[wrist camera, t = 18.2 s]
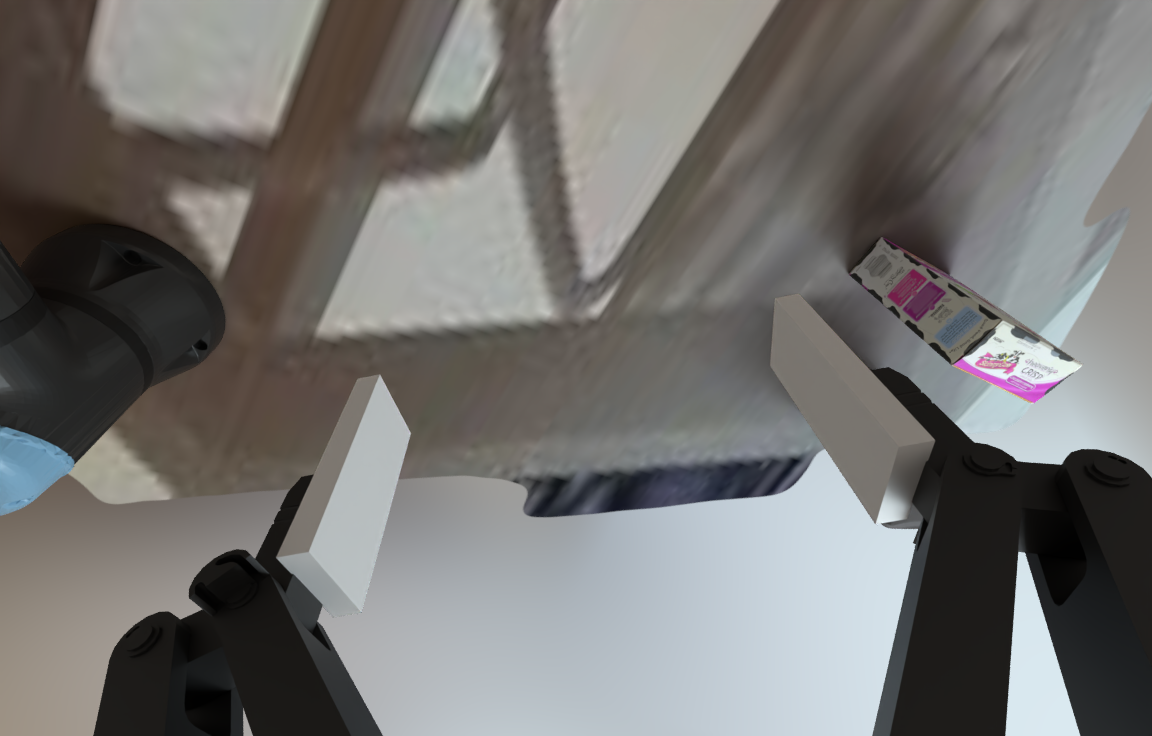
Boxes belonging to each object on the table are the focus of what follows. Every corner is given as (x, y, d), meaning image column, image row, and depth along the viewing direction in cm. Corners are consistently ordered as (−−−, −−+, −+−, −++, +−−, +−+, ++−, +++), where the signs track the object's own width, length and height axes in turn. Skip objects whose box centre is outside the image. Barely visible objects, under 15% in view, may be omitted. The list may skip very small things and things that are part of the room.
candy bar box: (844, 276, 53) (949, 366, 40) (879, 234, 50) (1004, 316, 37) (916, 313, 56) (1034, 407, 43) (952, 275, 54) (1090, 364, 41)
